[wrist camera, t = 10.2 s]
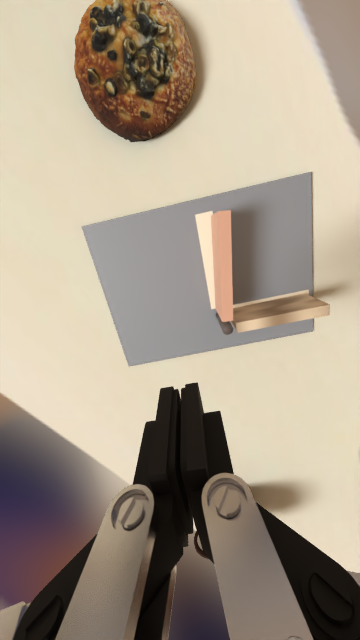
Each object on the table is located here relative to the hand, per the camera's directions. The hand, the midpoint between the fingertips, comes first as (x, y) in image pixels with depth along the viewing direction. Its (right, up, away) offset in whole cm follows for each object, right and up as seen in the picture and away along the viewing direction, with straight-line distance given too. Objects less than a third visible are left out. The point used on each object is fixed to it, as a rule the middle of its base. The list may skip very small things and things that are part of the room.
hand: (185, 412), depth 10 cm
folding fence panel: (+4, +11, +17) cm, 21 cm away
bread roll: (-4, +28, +12) cm, 31 cm away
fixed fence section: (+11, +6, +20) cm, 23 cm away
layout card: (+3, +9, +18) cm, 21 cm away
